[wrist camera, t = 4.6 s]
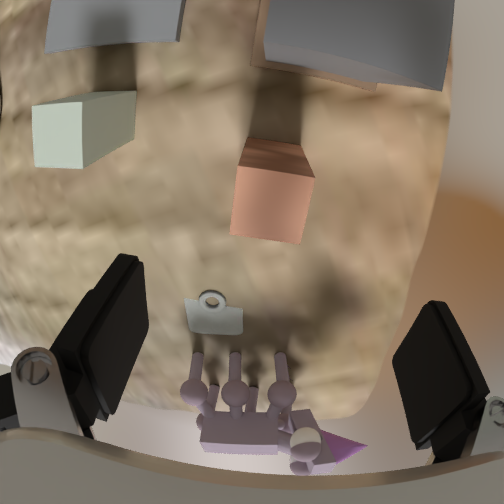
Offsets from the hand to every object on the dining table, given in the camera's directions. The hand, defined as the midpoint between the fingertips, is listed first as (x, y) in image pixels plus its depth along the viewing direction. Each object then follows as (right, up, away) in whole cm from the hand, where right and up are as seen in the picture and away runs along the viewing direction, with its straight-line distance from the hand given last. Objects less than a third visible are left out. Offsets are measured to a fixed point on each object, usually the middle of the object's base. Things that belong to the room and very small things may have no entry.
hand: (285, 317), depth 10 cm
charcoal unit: (+4, +20, +6) cm, 21 cm away
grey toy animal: (+2, -13, +27) cm, 30 cm away
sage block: (-12, +13, +12) cm, 21 cm away
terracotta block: (0, +9, +14) cm, 16 cm away
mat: (-11, +23, +5) cm, 26 cm away
